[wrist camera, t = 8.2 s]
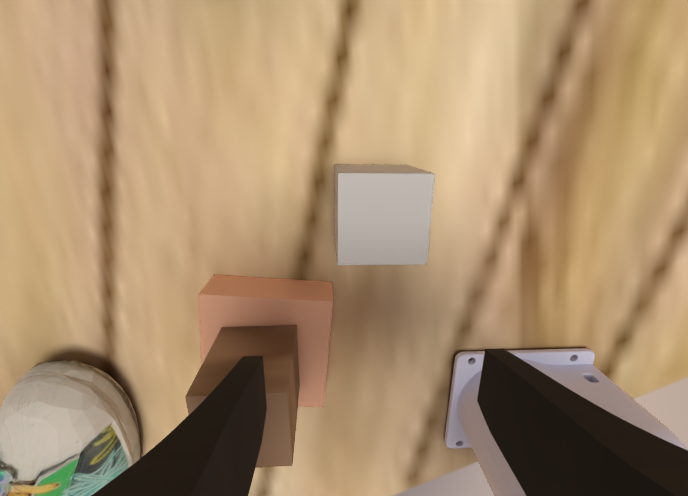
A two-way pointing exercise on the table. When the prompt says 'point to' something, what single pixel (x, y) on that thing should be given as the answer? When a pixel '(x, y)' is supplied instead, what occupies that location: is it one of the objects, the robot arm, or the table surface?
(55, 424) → the sneaker
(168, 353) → the table surface
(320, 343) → the terracotta tile
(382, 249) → the light grey block
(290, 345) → the walnut block
